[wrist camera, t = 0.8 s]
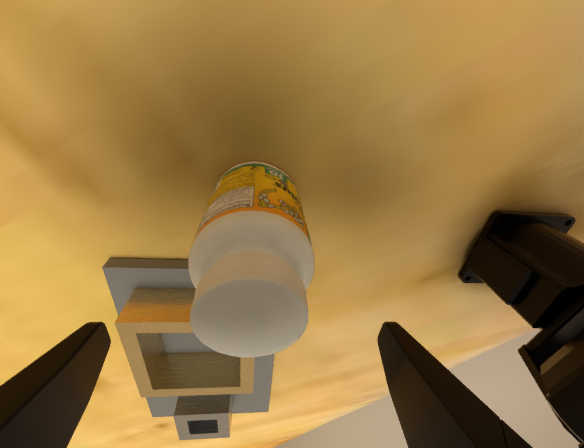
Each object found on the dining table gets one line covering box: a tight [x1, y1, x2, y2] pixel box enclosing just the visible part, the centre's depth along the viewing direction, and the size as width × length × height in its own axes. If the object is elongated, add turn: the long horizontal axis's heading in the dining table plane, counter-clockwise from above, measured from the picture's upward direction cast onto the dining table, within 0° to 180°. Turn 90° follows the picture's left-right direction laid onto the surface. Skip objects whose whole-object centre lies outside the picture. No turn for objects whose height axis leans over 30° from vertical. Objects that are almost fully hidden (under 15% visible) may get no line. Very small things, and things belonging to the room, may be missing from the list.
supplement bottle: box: [188, 161, 315, 358], centre depth 13 cm, size 5×5×10 cm
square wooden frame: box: [115, 287, 255, 397], centre depth 20 cm, size 8×8×3 cm
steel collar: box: [173, 394, 233, 440], centre depth 25 cm, size 4×4×3 cm
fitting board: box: [102, 258, 274, 417], centre depth 24 cm, size 12×20×1 cm, turn 174°
